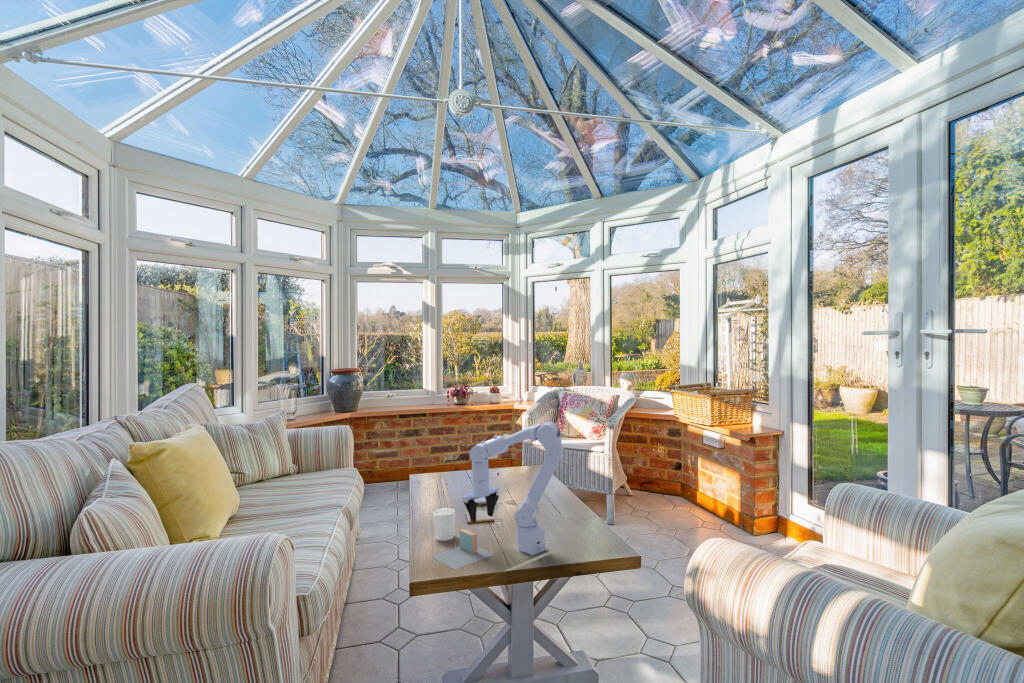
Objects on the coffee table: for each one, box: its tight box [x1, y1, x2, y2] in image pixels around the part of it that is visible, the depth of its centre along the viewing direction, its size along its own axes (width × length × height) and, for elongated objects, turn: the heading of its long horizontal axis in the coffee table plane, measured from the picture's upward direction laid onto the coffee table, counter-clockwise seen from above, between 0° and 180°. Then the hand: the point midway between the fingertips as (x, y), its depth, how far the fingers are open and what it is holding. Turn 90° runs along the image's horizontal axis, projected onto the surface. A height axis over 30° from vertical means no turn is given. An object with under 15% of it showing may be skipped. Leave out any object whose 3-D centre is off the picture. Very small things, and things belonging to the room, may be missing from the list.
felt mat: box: [430, 545, 495, 571], centre depth 161 cm, size 14×16×1 cm
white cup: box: [432, 507, 456, 542], centre depth 178 cm, size 8×8×10 cm
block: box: [459, 528, 478, 554], centre depth 166 cm, size 7×2×6 cm, turn 42°
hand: (481, 518), depth 170 cm, fingers open, 7 cm apart
